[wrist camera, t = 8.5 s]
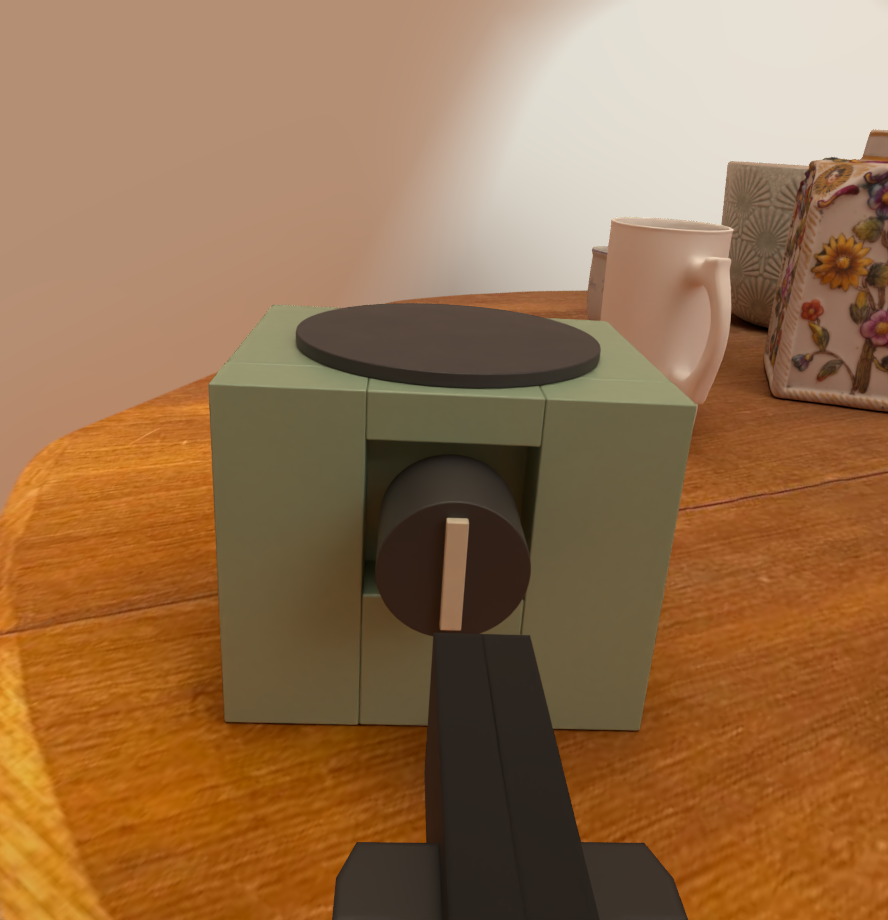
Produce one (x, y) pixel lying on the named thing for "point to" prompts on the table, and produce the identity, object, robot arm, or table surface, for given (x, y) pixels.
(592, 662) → the warmer
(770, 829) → the table surface
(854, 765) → the table surface
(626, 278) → the mug
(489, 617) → the knob
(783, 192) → the planter
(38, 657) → the table surface
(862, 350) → the decorative jar
